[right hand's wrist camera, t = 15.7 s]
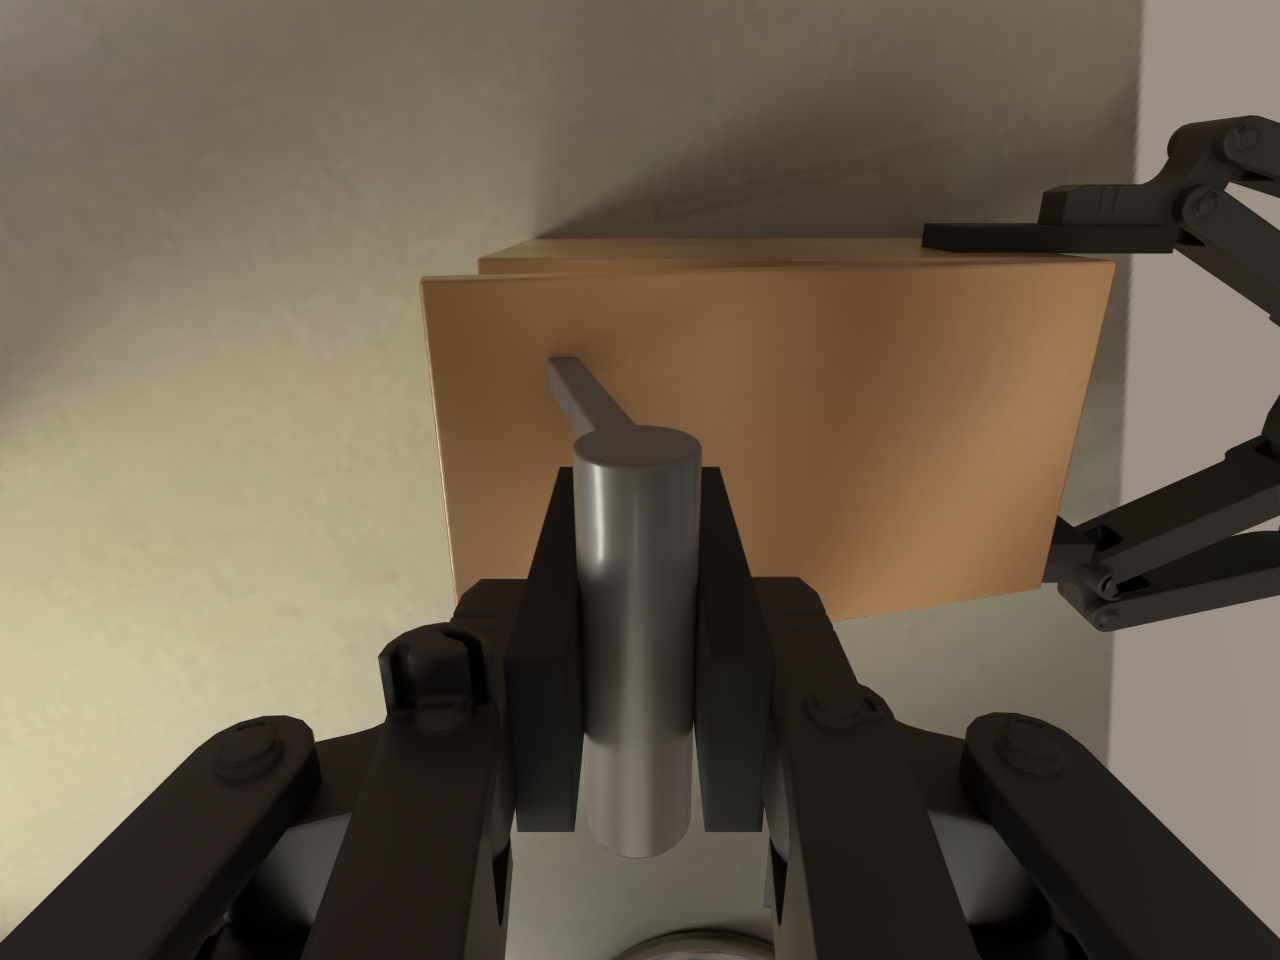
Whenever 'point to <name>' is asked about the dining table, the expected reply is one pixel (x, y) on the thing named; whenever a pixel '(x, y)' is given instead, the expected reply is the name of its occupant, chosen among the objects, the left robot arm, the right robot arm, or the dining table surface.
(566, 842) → the dining table surface
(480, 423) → the lid
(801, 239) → the chest
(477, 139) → the dining table surface
